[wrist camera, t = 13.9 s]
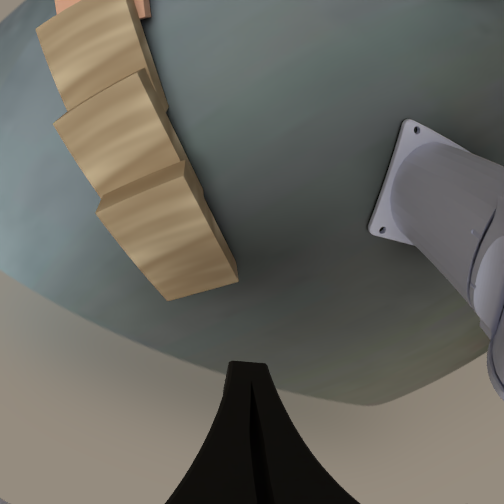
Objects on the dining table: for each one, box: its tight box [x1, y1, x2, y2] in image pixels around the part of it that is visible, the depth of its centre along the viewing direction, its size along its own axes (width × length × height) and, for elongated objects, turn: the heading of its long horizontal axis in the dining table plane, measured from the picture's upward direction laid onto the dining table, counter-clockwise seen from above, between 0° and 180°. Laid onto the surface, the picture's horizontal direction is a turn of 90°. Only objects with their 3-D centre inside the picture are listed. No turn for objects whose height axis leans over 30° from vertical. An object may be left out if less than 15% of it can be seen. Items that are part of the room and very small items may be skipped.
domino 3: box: [96, 160, 239, 301], centre depth 16 cm, size 2×5×8 cm
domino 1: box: [36, 0, 169, 112], centre depth 11 cm, size 2×5×8 cm
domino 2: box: [53, 68, 203, 199], centre depth 14 cm, size 2×5×8 cm
